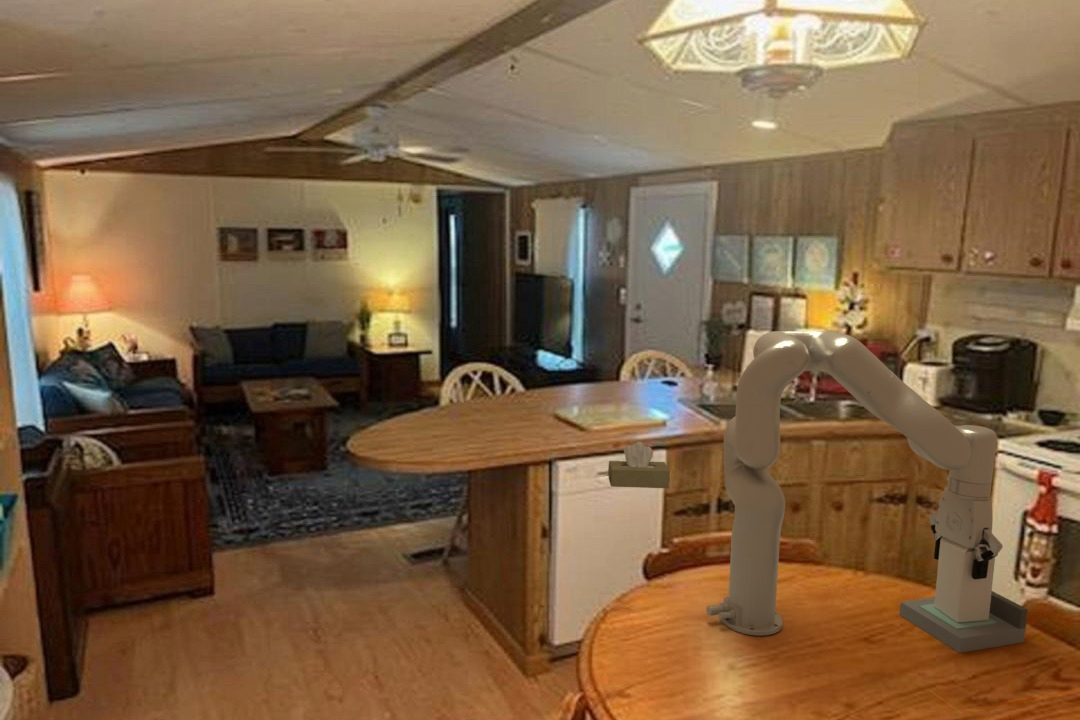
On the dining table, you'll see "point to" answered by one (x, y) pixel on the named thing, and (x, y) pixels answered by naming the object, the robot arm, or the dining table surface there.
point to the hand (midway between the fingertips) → (959, 568)
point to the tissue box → (638, 469)
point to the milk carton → (962, 584)
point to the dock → (970, 624)
